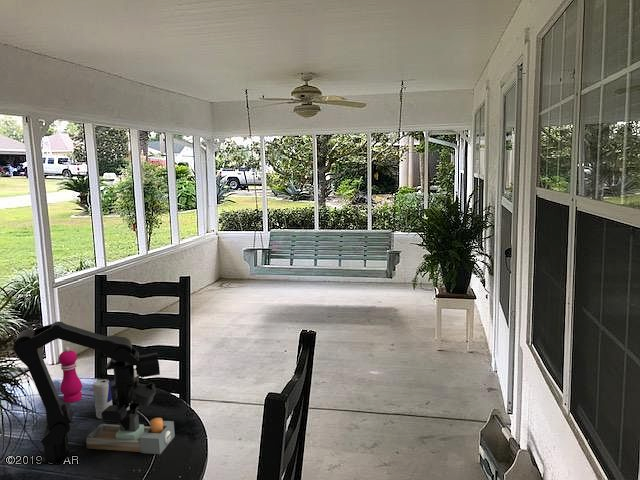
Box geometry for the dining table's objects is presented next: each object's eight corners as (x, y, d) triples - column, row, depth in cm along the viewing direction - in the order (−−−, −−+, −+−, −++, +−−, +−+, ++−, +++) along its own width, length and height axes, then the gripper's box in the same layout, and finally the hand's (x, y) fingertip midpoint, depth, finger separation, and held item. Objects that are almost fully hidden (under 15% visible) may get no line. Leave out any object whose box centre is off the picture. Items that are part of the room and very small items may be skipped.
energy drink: (116, 411, 181) (112, 379, 179) (108, 419, 176) (104, 386, 174) (101, 411, 182) (97, 378, 180) (93, 419, 177) (89, 385, 175)
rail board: (142, 452, 156) (141, 441, 156) (87, 448, 159) (85, 437, 159) (156, 435, 165) (155, 425, 164) (103, 432, 168) (102, 422, 167)
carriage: (134, 443, 158) (132, 421, 157) (116, 441, 159) (114, 419, 158) (144, 432, 164) (142, 411, 162) (126, 431, 165) (124, 410, 163)
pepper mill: (57, 402, 190) (50, 350, 186) (71, 393, 196) (65, 342, 193) (73, 404, 187) (67, 351, 184) (87, 395, 194) (81, 344, 191)
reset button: (160, 436, 157) (159, 424, 157) (149, 435, 158) (147, 423, 157) (165, 430, 161) (164, 418, 160) (154, 429, 161) (153, 417, 161)
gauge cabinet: (161, 454, 155) (160, 438, 154) (141, 453, 156) (139, 437, 155) (176, 436, 164) (175, 421, 163) (156, 435, 165) (155, 420, 165)
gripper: (133, 395, 148) (138, 446, 150) (163, 368, 166) (167, 413, 168) (97, 393, 149) (103, 443, 152) (131, 366, 168) (135, 412, 170)
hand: (129, 427), depth 161 cm, fingers closed on carriage, 2 cm apart
